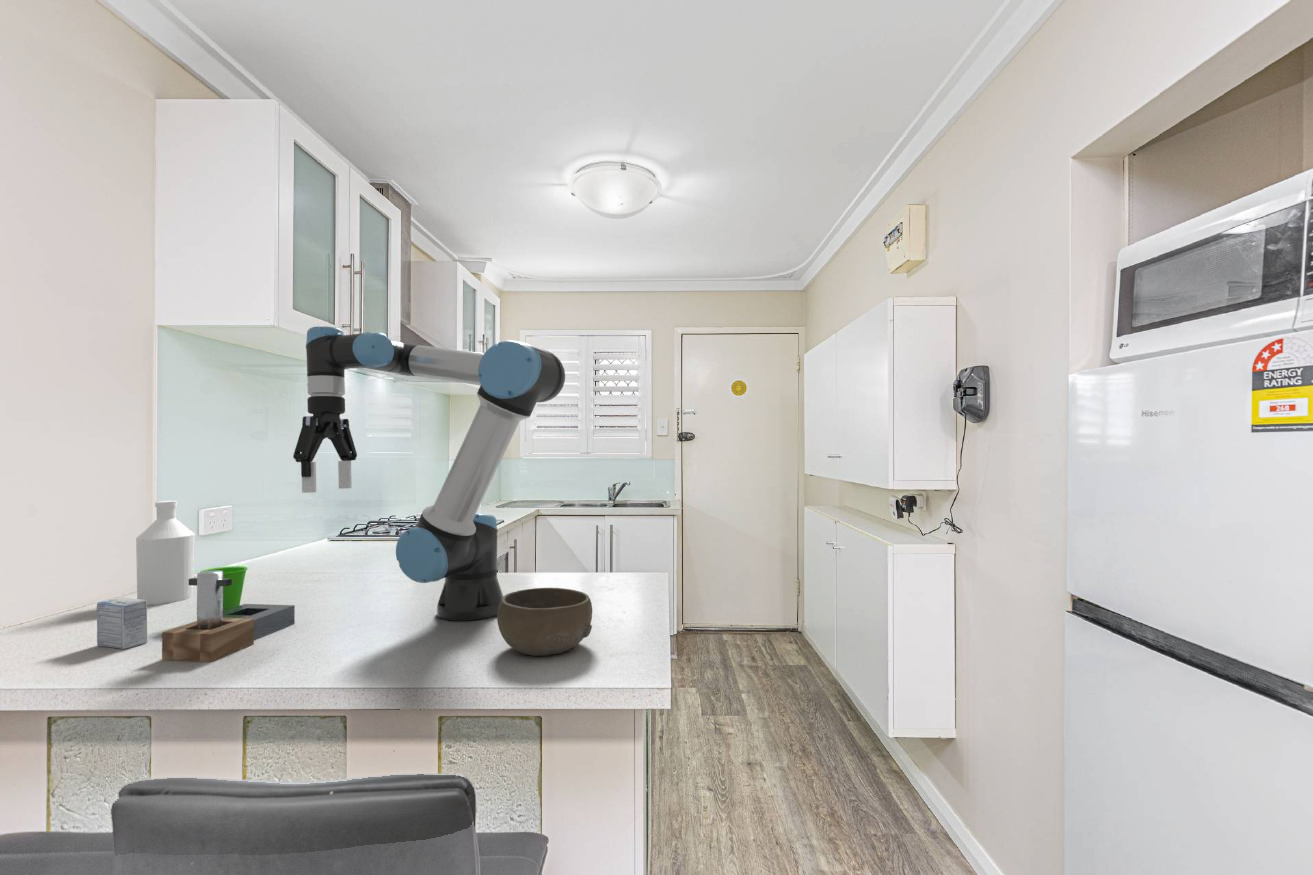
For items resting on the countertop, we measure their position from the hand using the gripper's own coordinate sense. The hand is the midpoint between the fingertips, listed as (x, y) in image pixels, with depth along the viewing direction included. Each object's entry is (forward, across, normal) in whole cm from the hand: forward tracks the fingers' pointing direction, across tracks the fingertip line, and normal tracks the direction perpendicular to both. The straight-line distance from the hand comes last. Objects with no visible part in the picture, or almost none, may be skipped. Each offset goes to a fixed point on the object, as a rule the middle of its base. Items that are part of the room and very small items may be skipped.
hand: (328, 490), depth 140 cm
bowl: (+31, +17, +53) cm, 64 cm away
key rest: (+29, +22, -10) cm, 38 cm away
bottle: (+28, -16, -54) cm, 63 cm away
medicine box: (+29, +19, -31) cm, 46 cm away
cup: (+29, 0, -25) cm, 38 cm away
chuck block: (+29, +9, -12) cm, 33 cm away
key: (+29, +22, -10) cm, 38 cm away
